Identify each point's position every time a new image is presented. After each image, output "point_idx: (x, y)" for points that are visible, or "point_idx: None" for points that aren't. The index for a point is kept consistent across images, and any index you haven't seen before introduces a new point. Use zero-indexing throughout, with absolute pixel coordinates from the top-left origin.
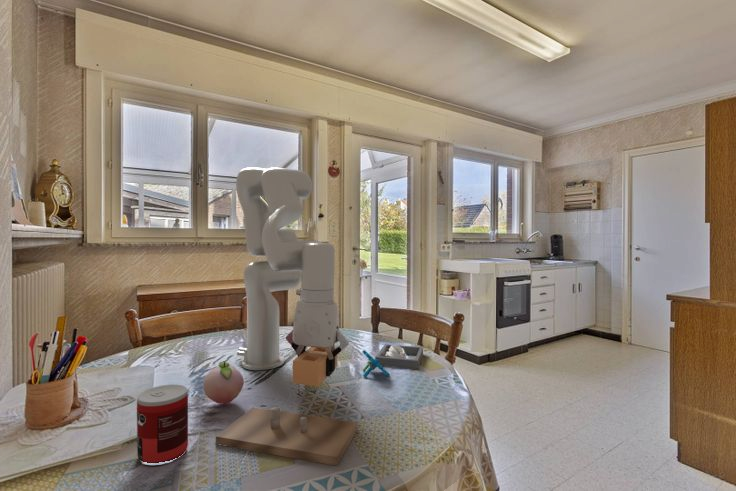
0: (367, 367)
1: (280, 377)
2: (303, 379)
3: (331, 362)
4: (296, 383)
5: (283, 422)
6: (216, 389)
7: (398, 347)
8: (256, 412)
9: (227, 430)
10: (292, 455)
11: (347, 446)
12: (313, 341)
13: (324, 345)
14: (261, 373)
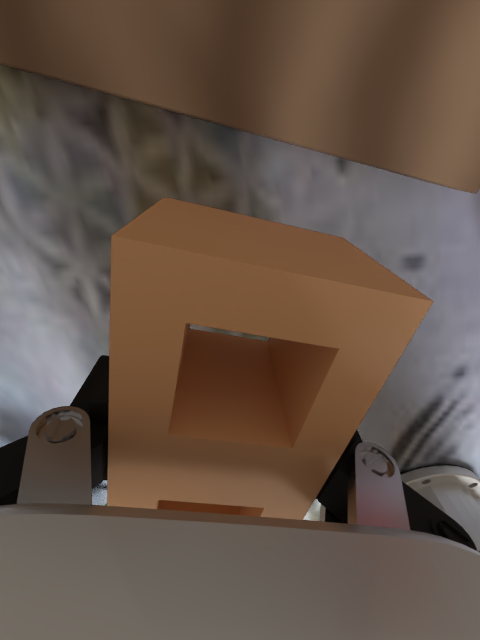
0: (106, 504)
1: (366, 439)
2: (274, 228)
3: (86, 398)
4: (317, 232)
5: (327, 20)
6: None
7: None
8: (462, 139)
9: None
10: None
11: None
12: (228, 623)
13: (18, 548)
14: (423, 453)
